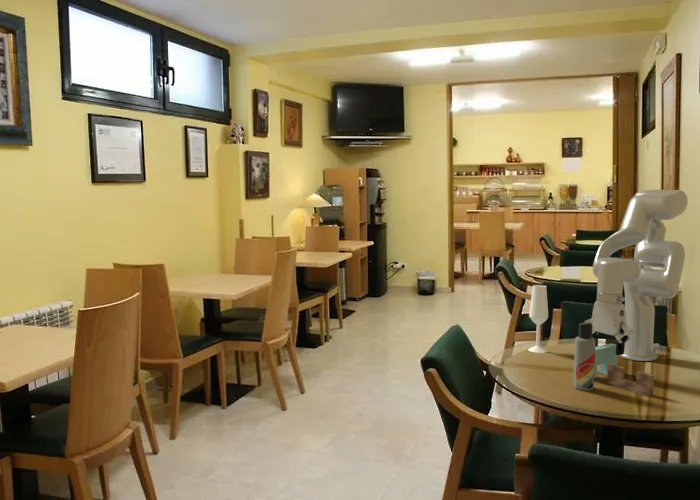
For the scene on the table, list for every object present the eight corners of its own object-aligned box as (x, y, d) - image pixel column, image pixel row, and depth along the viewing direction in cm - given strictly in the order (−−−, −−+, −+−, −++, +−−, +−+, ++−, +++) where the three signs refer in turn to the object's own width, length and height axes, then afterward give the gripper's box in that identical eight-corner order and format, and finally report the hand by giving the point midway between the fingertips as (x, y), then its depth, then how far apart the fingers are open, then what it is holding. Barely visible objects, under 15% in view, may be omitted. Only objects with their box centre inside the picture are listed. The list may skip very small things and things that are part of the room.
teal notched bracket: (605, 369, 205) (606, 342, 204) (621, 373, 199) (622, 346, 199) (574, 376, 197) (575, 348, 196) (590, 381, 192) (591, 353, 191)
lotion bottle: (591, 392, 182) (594, 325, 180) (571, 388, 185) (573, 323, 183) (595, 386, 187) (597, 321, 185) (575, 383, 190) (578, 319, 188)
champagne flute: (531, 347, 233) (533, 284, 230) (549, 349, 229) (551, 285, 226) (525, 351, 227) (527, 286, 225) (543, 353, 223) (545, 288, 221)
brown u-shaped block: (607, 383, 190) (608, 364, 189) (610, 382, 191) (611, 363, 190) (649, 396, 178) (650, 376, 177) (652, 395, 179) (653, 375, 178)
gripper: (641, 302, 192) (638, 356, 193) (594, 294, 207) (591, 344, 208) (625, 303, 188) (622, 358, 190) (579, 295, 203) (576, 346, 204)
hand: (606, 351), depth 199 cm, fingers open, 9 cm apart
